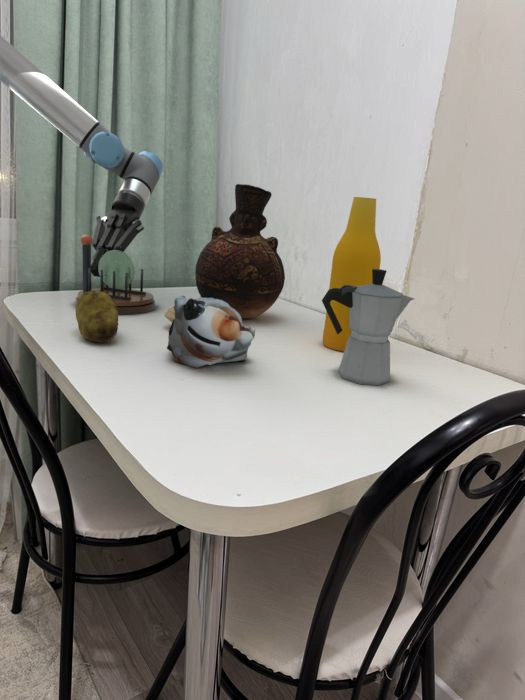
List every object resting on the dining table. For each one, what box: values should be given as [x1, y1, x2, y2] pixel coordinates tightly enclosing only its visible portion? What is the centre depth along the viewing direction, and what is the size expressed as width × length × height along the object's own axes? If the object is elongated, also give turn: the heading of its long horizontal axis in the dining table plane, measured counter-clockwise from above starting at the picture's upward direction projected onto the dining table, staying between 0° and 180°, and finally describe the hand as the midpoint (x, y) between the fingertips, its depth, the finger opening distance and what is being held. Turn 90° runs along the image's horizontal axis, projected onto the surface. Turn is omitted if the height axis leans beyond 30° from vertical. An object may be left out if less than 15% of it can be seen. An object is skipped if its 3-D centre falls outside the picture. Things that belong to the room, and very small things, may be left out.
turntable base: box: [75, 296, 156, 316], centre depth 120 cm, size 18×18×2 cm
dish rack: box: [77, 234, 155, 306], centre depth 117 cm, size 18×17×14 cm
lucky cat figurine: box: [166, 294, 256, 369], centre depth 83 cm, size 15×12×14 cm
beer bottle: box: [322, 196, 382, 353], centre depth 98 cm, size 9×9×29 cm
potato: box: [75, 291, 119, 344], centre depth 93 cm, size 8×13×8 cm, turn 9°
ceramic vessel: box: [194, 183, 286, 319], centre depth 116 cm, size 21×18×30 cm
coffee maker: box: [321, 268, 415, 386], centre depth 82 cm, size 15×9×18 cm, turn 92°
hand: (94, 273), depth 121 cm, fingers closed
